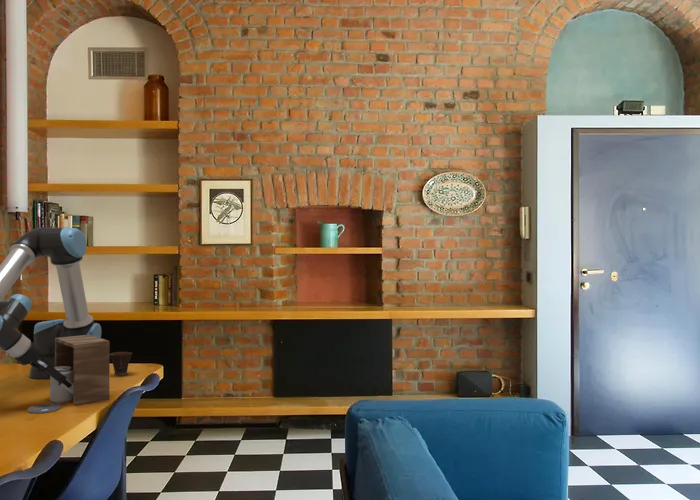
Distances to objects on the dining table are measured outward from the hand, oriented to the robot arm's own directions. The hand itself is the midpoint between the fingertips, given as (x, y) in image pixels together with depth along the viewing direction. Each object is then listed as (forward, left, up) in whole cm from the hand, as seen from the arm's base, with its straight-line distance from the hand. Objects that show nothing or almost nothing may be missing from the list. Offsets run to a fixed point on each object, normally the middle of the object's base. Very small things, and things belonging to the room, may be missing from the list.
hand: (71, 389), depth 217 cm
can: (0, -3, -4) cm, 5 cm away
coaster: (+7, -11, -4) cm, 14 cm away
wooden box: (0, +4, -4) cm, 5 cm away
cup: (-26, +30, -4) cm, 40 cm away
